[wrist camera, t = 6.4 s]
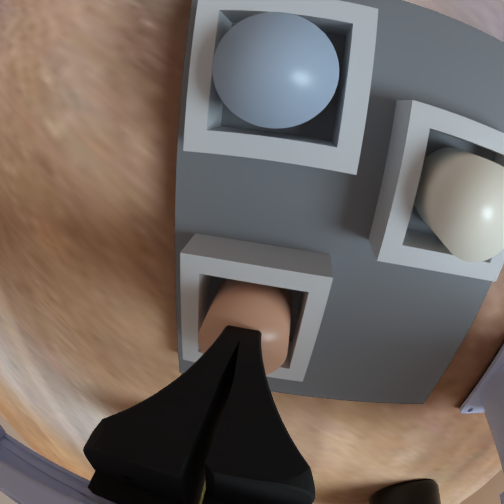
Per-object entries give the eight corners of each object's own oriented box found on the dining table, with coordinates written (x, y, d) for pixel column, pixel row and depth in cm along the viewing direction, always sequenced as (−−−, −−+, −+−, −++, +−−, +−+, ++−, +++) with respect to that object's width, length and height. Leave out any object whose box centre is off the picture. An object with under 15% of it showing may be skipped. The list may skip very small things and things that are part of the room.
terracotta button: (298, 278, 14) (295, 320, 11) (285, 339, 16) (279, 383, 13) (217, 264, 14) (198, 302, 12) (214, 326, 16) (198, 368, 13)
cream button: (491, 160, 10) (531, 177, 8) (470, 237, 12) (501, 268, 9) (422, 137, 11) (454, 148, 8) (402, 221, 12) (425, 253, 10)
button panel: (524, 65, 9) (566, 65, 6) (418, 387, 19) (428, 427, 15) (205, -12, 11) (178, -39, 8) (186, 356, 20) (169, 395, 17)
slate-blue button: (335, 40, 10) (344, 21, 7) (323, 130, 11) (330, 137, 9) (238, 30, 10) (219, 9, 7) (229, 117, 12) (207, 121, 9)
